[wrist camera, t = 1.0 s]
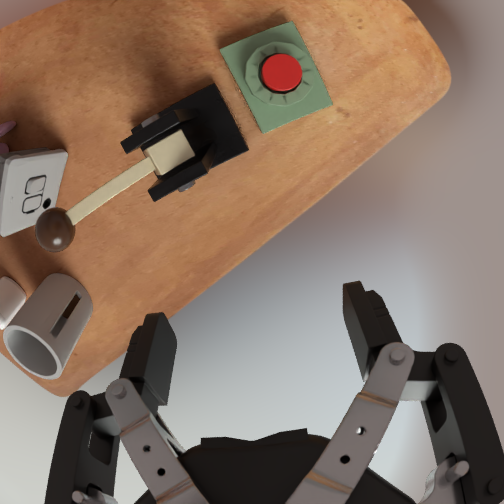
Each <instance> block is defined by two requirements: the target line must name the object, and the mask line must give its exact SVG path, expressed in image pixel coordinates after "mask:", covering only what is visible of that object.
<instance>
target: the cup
mask: <svg viewBox="0 0 504 504" xmlns="http://www.w3.org/2000/svg"><path fill="white" fill-rule="evenodd" d="M75 294H76V295H78V297H79V298H80V301H79V302H78V304H77V305H76V307H75V309H74V310H73V312H72V313H71V315H70V316H69V318H68V319H67V318H65V317H63V316H61V315H62V314H63V312H64V311H65V309H66V307H67V306H68V304H69V303H70V302H71V300H72V299H73V297H74V296H75ZM92 310H93V306H92V301H91V298H90V296H89V294H88V292H87V291H86V289H85V288H84V287H83V286H82V285H81V284H80V283H79V282H78V281H77V280H75V279H74V278H72V277H70V276H68V275H65V274H61V273H54V274H50V275H49V276H47V277H46V278H45V279H44V281H43V282H42V283H41V284H40V285H39V286H38V288H37V289H36V290H35V291H34V292H33V294H32V295H31V296H30V297H29V299H28V300H27V301H26V302H25V304H24V305H23V306H22V307H21V309H20V310H19V311H18V312H17V314H16V315H15V316H14V318H13V319H12V320H11V322H10V323H9V324H8V326H7V327H6V328H5V330H4V333H3V339H4V343H5V346H6V348H7V349H8V351H9V353H10V354H11V356H12V357H13V358H14V359H15V360H16V362H17V363H19V364H20V365H21V366H22V367H23V368H24V369H26V370H27V371H28V372H30V373H32V374H34V375H36V376H38V377H41V378H43V379H50V380H51V379H56V378H58V377H59V376H60V375H61V373H62V371H63V369H64V367H65V365H66V363H67V361H68V359H69V357H70V355H71V353H72V351H73V349H74V347H75V345H76V343H77V341H78V339H79V337H80V336H81V334H82V332H83V330H84V328H85V326H86V324H87V323H88V321H89V319H90V317H91V315H92Z"/></svg>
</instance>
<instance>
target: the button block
mask: <svg viewBox="0 0 504 504" xmlns="http://www.w3.org/2000/svg"><path fill="white" fill-rule="evenodd" d="M220 53H221V55H222V56H223V58H224V60H225V62H226V64H227V66H228V67H229V69H230V71H231V73H232V75H233V77H234V79H235V81H236V83H237V85H238V86H239V88H240V90H241V92H242V94H243V96H244V98H245V100H246V102H247V104H248V106H249V108H250V110H251V112H252V114H253V116H254V118H255V120H256V122H257V124H258V126H259V128H260V130H261V132H262V133H263V134H264V133H266V132H269V131H271V130H273V129H275V128H278V127H280V126H282V125H285V124H287V123H289V122H292V121H294V120H296V119H299V118H301V117H304V116H306V115H308V114H311V113H313V112H316V111H318V110H321V109H324V108H326V107H329V106H331V105H333V103H332V101H331V98H330V96H329V94H328V91H327V89H326V87H325V85H324V83H323V80H322V78H321V76H320V74H319V72H318V70H317V68H316V66H315V64H314V61H313V59H312V57H311V55H310V53H309V51H308V49H307V47H306V45H305V44H304V42H303V40H302V38H301V36H300V34H299V32H298V30H297V28H296V27H295V25H294V23H293V21H290V22H287V23H284V24H281V25H279V26H276V27H273V28H270V29H267V30H265V31H262V32H260V33H257V34H254V35H252V36H249V37H247V38H245V39H242V40H240V41H237V42H235V43H233V44H230V45H228V46H226V47H224V48H221V49H220ZM276 54H287V55H290V56H292V57H294V58H295V59H296V60H297V61H298V62H299V64H300V66H301V69H302V77H301V80H300V82H299V83H298V85H297V86H295V87H294V88H292V89H290V90H286V91H275V90H272V89H270V88H269V87H267V86H266V85H265V83H264V82H263V80H262V77H261V69H262V66H263V64H264V63H265V61H266V60H267V59H268V58H269V57H271V56H273V55H276Z"/></svg>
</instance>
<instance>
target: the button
mask: <svg viewBox="0 0 504 504" xmlns="http://www.w3.org/2000/svg"><path fill="white" fill-rule="evenodd" d="M261 77H262V80H263V82H264V83H265V85H266V86H267V87H269V88H270V89H272V90H275V91H286V90H290V89H292V88H294V87H295V86H297V85H298V83H299V82H300V80H301V77H302V69H301V66H300V64H299V62H298V61H297V60H296V59H295V58H294V57H292V56H290V55H287V54H276V55H273V56H271V57H269V58H268V59H267V60H266V61H265V63H264V64H263V66H262V69H261Z"/></svg>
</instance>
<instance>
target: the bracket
mask: <svg viewBox="0 0 504 504" xmlns="http://www.w3.org/2000/svg"><path fill="white" fill-rule="evenodd" d="M178 130H182V132H183V134H184V136H185V137H186V139H187V141H188V143H189V145H190V147H191V148H192V150H193V152H194V154H195V156H193V157H192V158H190V159H188V160H187V161H185V162H183V163H181V164H180V165H178V166H176V167H175V168H173V169H171V170H170V171H168V172H167V173H165V174H163V175H156V176H157V178H158V180H157V181H156V182H155V183H154V184H153V185H152V186H151V187H150V188H149V189H148V192H149V194H150V196H151V198H152V199H153V201H154V202H155V201H157V200H159V199H161V198H163V197H164V196H166V195H168V194H170V193H172V192H174V191H175V190H177V189H178V191H179V192H182V191H185V190H187V189H188V188H190V187H192V186H193V185H194V184H195V181H194V180H196V179H198V178H200V177H202V176H204V175H206V174H208V172H209V170H210V169H211V168H213V167H215V166H217V165H219V164H221V163H224V162H226V161H228V160H230V159H232V158H234V157H236V156H238V155H240V154H242V153H244V152H246V151H248V150H249V148H248V146H247V144H246V142H245V140H244V138H243V136H242V134H241V132H240V130H239V128H238V126H237V124H236V123H235V121H234V119H233V117H232V115H231V113H230V111H229V109H228V107H227V105H226V103H225V101H224V99H223V97H222V96H221V94H220V92H219V90H218V88H217V86H216V84H215V83H213V84H211V85H209V86H207V87H205V88H203V89H201V90H199V91H198V92H196V93H194V94H192V95H190V96H188V97H186V98H184V99H182V100H181V101H179V102H177V103H175V104H173V105H172V106H170V107H168V108H166V109H165V110H163V111H161V112H159V113H158V114H156V115H153V116H151V117H150V118H148V119H146V120H145V121H143V122H142V123H141V124H140V125H138V126H136V127H135V128H133V129H132V130H131V132H132V133H133V134H132V135H131V136H129V137H128V138H126V139H125V140H123V141H121V145H122V147H123V149H124V151H125V152H126V154H128V153H130V152H132V151H134V150H136V149H138V148H141V150H142V151H144V150H145V149H147V148H148V147H150V146H152V145H153V144H155V143H157V142H159V141H160V140H162V139H164V138H166V137H167V136H169V135H171V134H173V133H175V132H176V131H178ZM143 153H144V152H143ZM144 155H145V154H144ZM145 157H146V156H145ZM154 173H155V172H154ZM155 174H156V173H155Z"/></svg>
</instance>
